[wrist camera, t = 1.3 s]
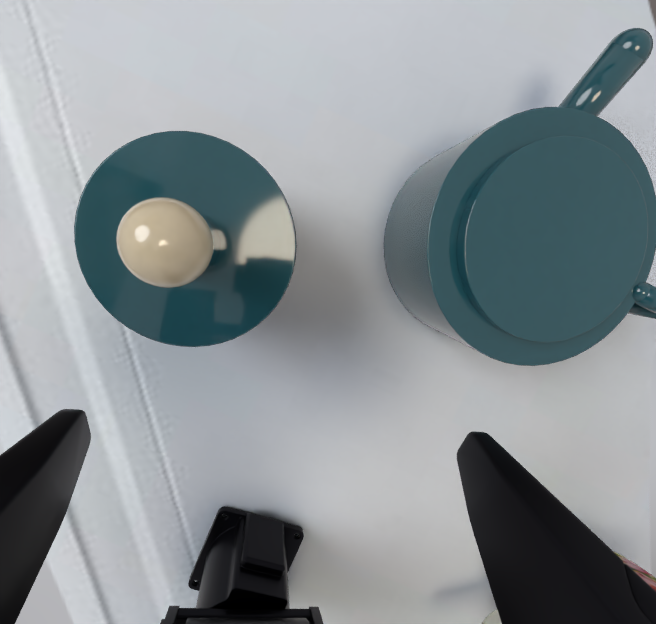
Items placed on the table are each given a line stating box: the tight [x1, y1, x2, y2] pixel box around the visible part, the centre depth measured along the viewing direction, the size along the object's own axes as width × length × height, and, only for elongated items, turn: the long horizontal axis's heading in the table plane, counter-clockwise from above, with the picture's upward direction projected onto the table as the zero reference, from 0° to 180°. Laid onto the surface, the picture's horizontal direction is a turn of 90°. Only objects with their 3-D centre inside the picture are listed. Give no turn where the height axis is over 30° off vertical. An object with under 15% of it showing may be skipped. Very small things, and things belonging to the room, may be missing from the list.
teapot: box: [384, 28, 656, 366], centre depth 22 cm, size 18×17×8 cm
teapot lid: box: [74, 131, 296, 347], centre depth 14 cm, size 9×9×6 cm
